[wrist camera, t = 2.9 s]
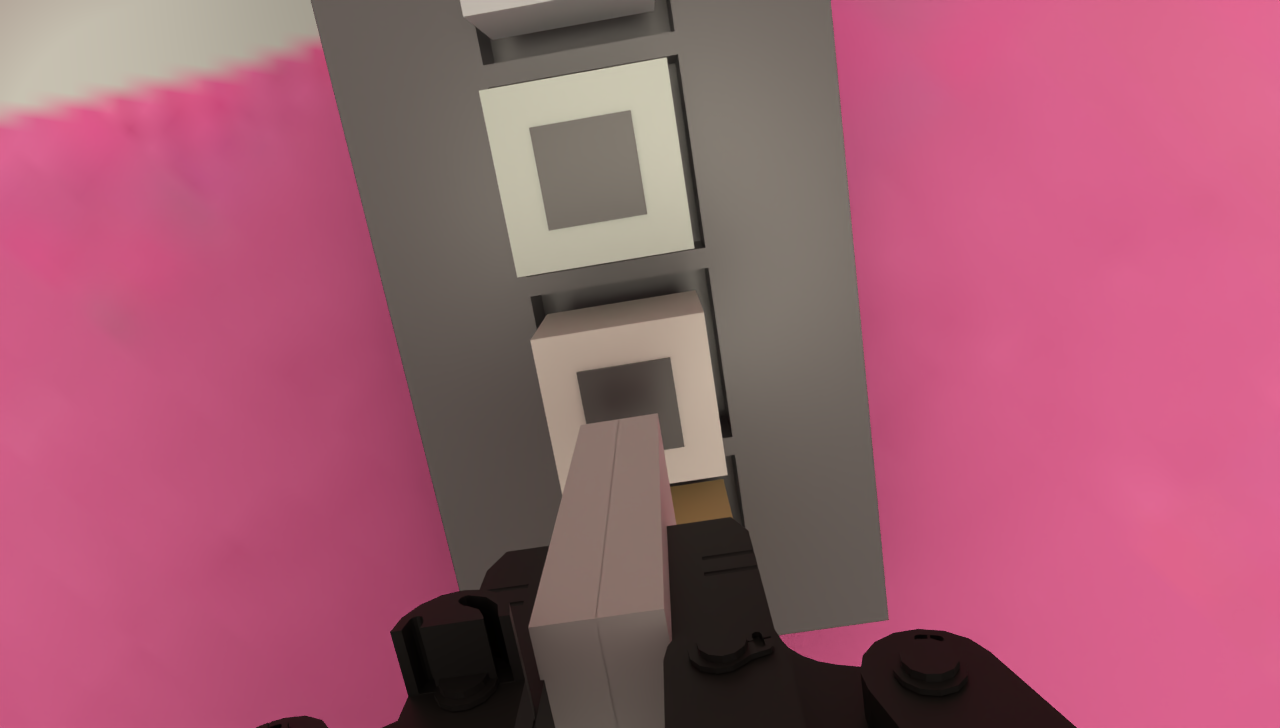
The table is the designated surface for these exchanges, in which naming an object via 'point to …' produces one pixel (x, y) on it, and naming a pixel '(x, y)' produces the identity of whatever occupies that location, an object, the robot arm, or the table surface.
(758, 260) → the keypad
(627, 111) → the key
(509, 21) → the key
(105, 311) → the table surface
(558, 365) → the key
